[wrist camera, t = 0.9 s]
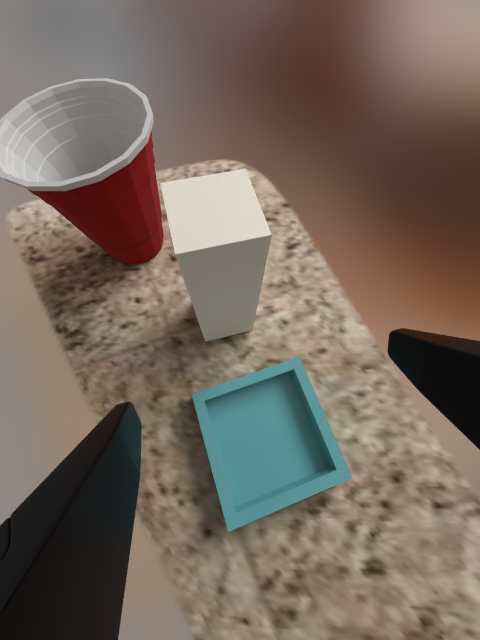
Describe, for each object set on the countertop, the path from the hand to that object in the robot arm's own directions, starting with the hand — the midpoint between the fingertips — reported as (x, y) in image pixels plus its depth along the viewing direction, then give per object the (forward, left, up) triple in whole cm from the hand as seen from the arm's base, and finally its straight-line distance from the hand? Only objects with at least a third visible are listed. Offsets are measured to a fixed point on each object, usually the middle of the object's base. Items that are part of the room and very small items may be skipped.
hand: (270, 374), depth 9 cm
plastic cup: (+19, +6, -14) cm, 25 cm away
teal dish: (-3, -1, -14) cm, 14 cm away
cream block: (+8, -1, -14) cm, 16 cm away
